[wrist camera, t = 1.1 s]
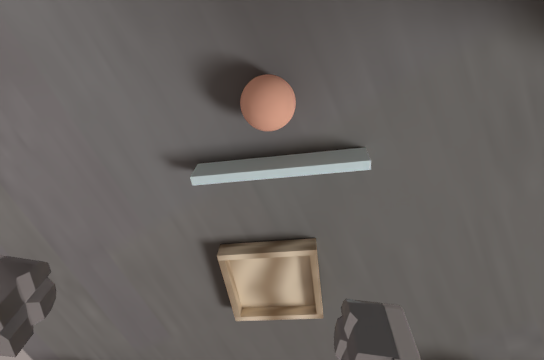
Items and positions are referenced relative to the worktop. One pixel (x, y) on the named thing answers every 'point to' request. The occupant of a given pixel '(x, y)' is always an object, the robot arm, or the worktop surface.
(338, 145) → the worktop surface
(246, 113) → the coral ball
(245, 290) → the birch tray
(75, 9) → the worktop surface
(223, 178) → the aqua wall
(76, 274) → the worktop surface
